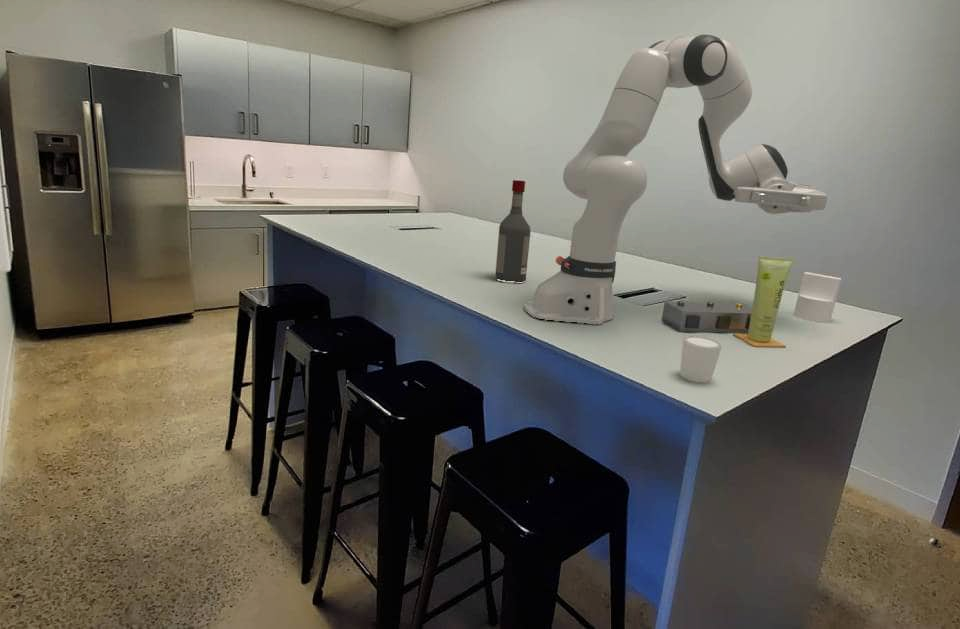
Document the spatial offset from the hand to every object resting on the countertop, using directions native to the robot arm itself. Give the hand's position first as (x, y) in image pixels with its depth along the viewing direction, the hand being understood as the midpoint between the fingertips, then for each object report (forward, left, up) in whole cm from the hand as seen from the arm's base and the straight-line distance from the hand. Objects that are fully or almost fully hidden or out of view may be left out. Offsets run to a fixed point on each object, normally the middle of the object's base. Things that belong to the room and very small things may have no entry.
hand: (783, 199), depth 132 cm
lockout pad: (-6, -11, -32) cm, 34 cm away
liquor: (-54, +43, -32) cm, 77 cm away
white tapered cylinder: (-34, -32, -32) cm, 56 cm away
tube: (-6, -10, -32) cm, 34 cm away
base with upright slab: (+25, +10, -32) cm, 42 cm away
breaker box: (-12, 0, -32) cm, 34 cm away
